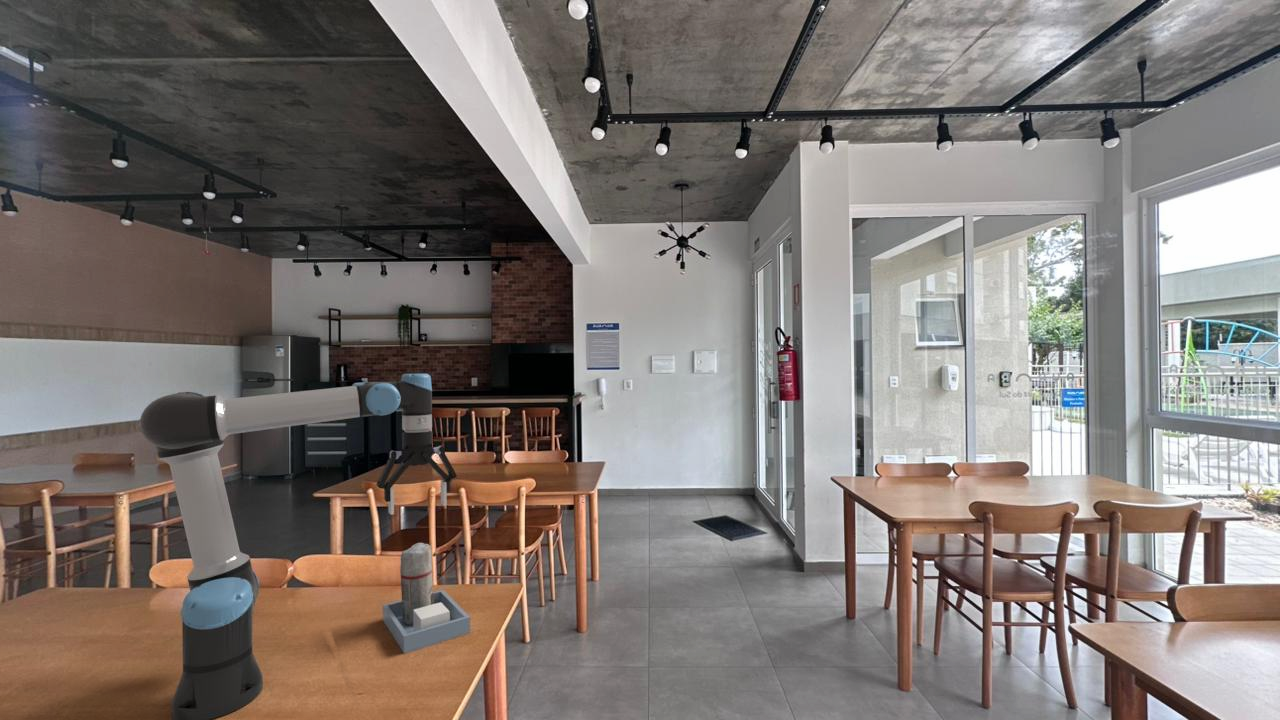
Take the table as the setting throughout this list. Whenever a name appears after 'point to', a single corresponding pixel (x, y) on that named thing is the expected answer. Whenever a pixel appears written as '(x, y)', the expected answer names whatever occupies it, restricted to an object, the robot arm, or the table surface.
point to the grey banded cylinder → (416, 580)
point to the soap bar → (430, 616)
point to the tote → (429, 635)
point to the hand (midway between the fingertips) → (418, 509)
